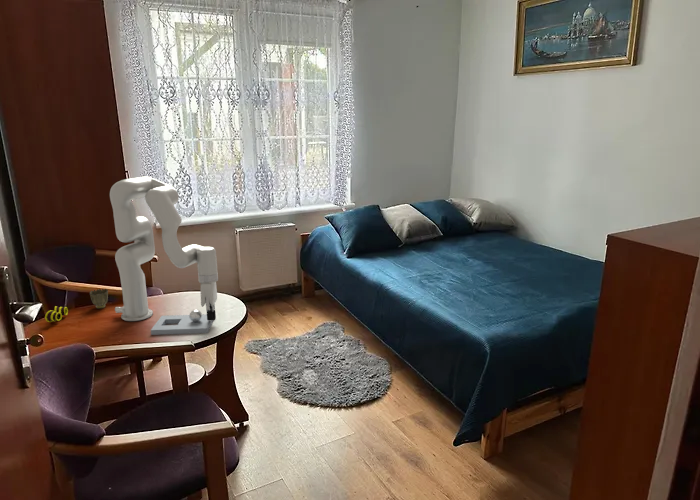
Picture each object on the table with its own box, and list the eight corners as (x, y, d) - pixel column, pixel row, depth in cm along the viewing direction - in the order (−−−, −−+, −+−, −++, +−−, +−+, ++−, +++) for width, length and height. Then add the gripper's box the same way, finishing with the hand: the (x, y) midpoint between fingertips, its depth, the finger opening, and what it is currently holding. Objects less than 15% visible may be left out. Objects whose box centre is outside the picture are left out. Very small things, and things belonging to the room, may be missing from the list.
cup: (92, 306, 224) (90, 289, 222) (110, 303, 227) (108, 287, 225) (91, 311, 218) (88, 294, 216) (109, 309, 221) (107, 292, 219)
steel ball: (188, 323, 199) (187, 312, 198) (191, 319, 204) (190, 307, 203) (201, 323, 200) (200, 312, 198) (203, 318, 204) (202, 307, 203)
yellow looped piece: (58, 323, 205) (56, 312, 204) (45, 324, 205) (43, 312, 204) (70, 314, 215) (68, 304, 214) (57, 315, 215) (55, 304, 213)
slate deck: (151, 334, 194) (150, 330, 194) (162, 320, 209) (161, 315, 208) (207, 332, 196) (207, 328, 195) (214, 318, 210) (214, 314, 210)
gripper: (202, 272, 205) (206, 313, 209) (194, 283, 190) (198, 327, 195) (220, 271, 205) (223, 312, 210) (214, 282, 191) (217, 326, 195)
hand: (211, 319), depth 202 cm, fingers closed
